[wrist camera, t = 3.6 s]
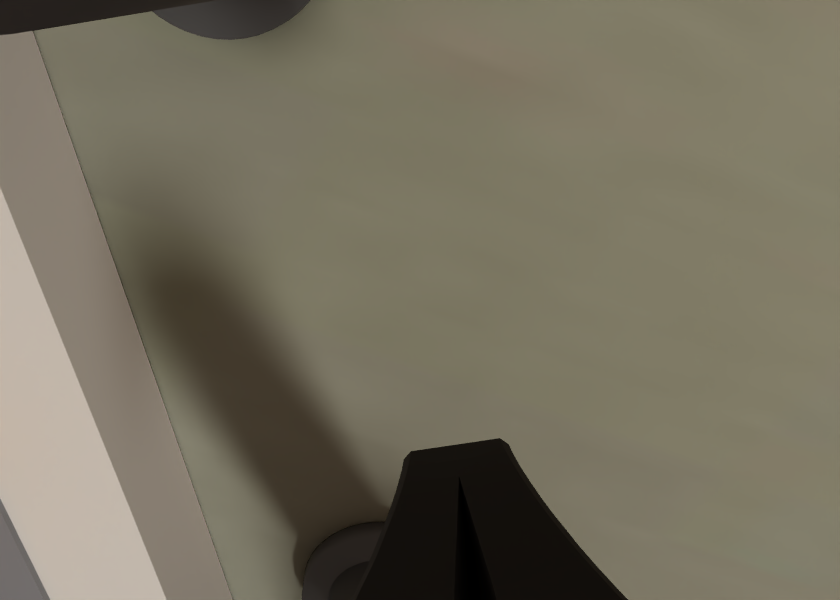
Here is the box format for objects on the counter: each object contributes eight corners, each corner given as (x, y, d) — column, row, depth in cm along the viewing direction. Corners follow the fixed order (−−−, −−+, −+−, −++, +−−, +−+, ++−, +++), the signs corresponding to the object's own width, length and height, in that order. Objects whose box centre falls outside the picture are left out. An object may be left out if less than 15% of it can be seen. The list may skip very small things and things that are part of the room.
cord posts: (321, 643, 21) (274, 1091, 12) (75, -194, 12) (-559, -524, 4) (462, 623, 20) (509, 1061, 12) (309, -236, 12) (139, -661, 4)
